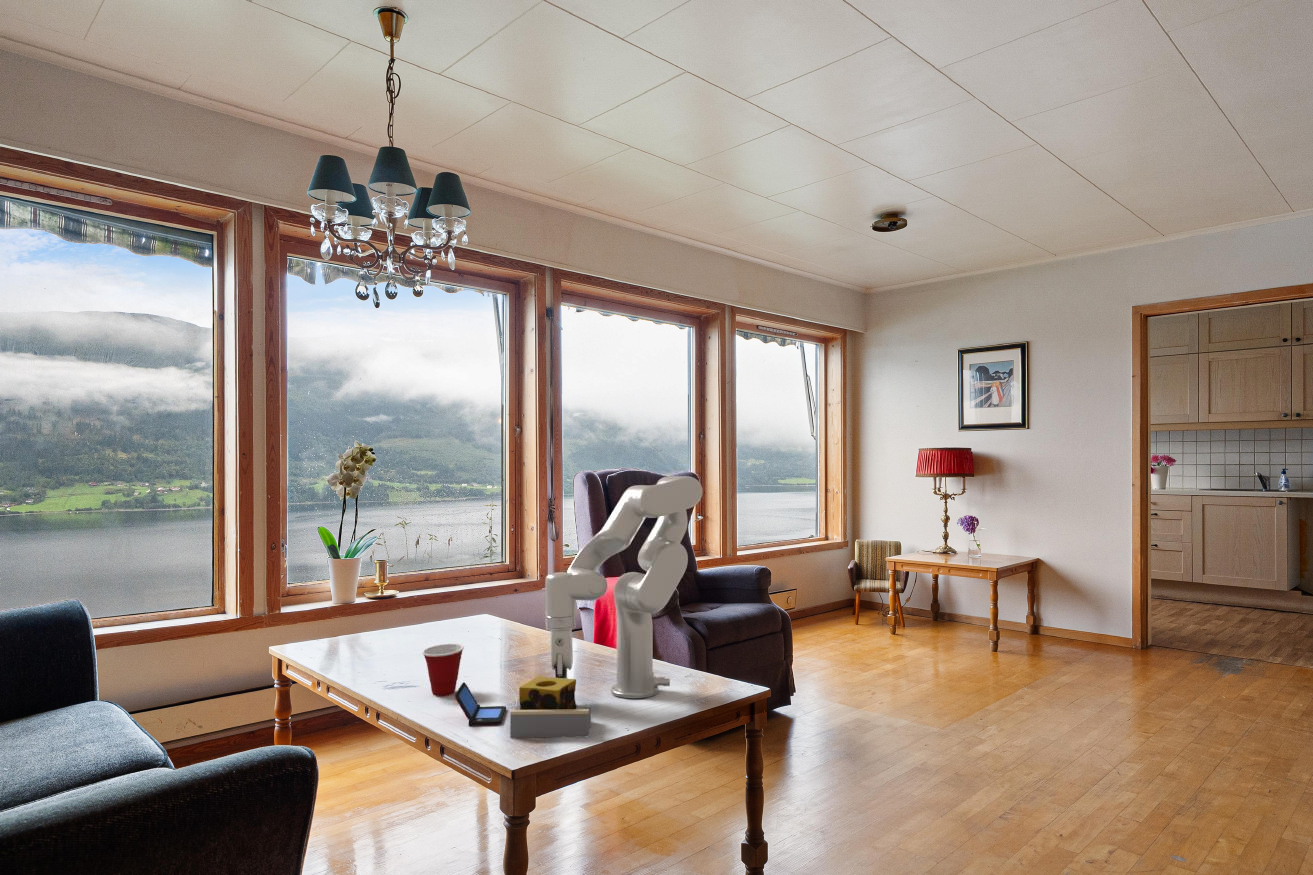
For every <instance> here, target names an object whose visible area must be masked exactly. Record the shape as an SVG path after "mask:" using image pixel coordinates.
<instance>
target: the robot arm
mask: <svg viewBox="0 0 1313 875" xmlns="http://www.w3.org/2000/svg"><path fill="white" fill-rule="evenodd" d="M656 482H657V483H655V484H652V485H645V484H644V485H643V484H639V485H638V484H637V485H632V486H630V487H628V488H627V489H626V490H625V491H624V492H623V493H622V495H621V496H620V499H619V500H618V502H617V504H616V505H615V506H614V509H613V510H612V512H611V514H610V515H609V516H608V519H607V520H606V522H605V523H604V525H603V527H601V529H600V531H598V532H597V533H596V534H595V535H594V536H593V537H592V538H591V539H590V540H589V541H588V542H587V543H586V544H585V545H584V546H583V547H582V548H581V549H580V550H579V552H578V553H577V554H576V556H575V558H574V560H572V562H571V564H570V566H569V567H568V569H567V571H566V572H565V571H563V572H562V571H560V572H559V571H558V572H552V573H549V574H547V575H546V576H545V581H544V583H545V584H544V588H545V589H544V591H545V592H544V594H545V595H544V596H545V630H547V631H549V632H550V658H551V659H550V661H551V669H552V670H553V671H554V674H555V675H554V676H555V677H554V678H566V679H569V678H568V670H569V671H570V670H571V669H572V668H573V663H574V655H573V652H574V651H573V632H572V630H574V629H576V627H577V626H576V601H587V602H588V601H596V600H597V601H598V600H599V599H601V598H603V596H605V594H606V593H607V590H608V582H607V579H606V577H605V576H604V575H603V574H602V573H600V572H598V570H599V568H600V567H601V566H602V565H603V563H605V562H606V561H607V560H608V559H609V558H611V557H613V556H614V555H616V554H618V553H620V552H622V551H624V550H626V549H627V548H629V546H631V544H632V541H633V540H634V538H635V536H636V535H637V533H638V531H639V530H640V528H641V526H642V525H643V523H644V522H645V520H646V518H650V519H651V518H657V520H656V522H655V524H654V525H653V527H652V529H651V531H650V533H649V534H648V535H647V538H646V539H645V541H644V542H643V544H642V546H641V548H640V549H639V551H638V555H637V562H638V565H639V566H640V568H641V569H642V570H643V571H645V572H646V573H641V572H636V571H631V572H627V573H626V572H625V573H623V574H621V575H620V576H619V578H618V579H617V580H616V582H615V585H614V586H613V587H614V589H613V599H614V605H615V611H616V684H614V685H613V686H611V688H610V692H611V694H612V695H613V696H615V697H617V698H623V699H644V698H645V699H646V698H649V697H650V698H651V697H653V696H655V695H657V694H658V693H659V686H661V687H662V686H663V687H670V686H671V683H670V682H671V681H670V677H669V678H668V677H667V678H665V676H664V677H663V676H660V677H657V676H655V674H654V670H653V663H654V662H653V656H654V655H653V650H654V649H653V643H654V642H653V634H654V633H653V632H654V630H653V627H654V626H653V617H652V614H656V613H659V612H660V611H662V610H663V609H664V608H665V607H666V605H668V603H669V601H670V599H671V597H672V596H673V594H674V592H675V590H676V589H677V587H678V585H679V583H681V582H680V581H681V579H682V578H683V576H684V574H685V572H686V570H687V567H688V562H689V559H688V558H689V556H688V552H687V550H686V547H685V546H684V545H682V543H681V542H682V540H683V538H684V536H685V533H686V532H687V528H688V514H687V510H689V509H691V508H694V507H695V506H696V505H698V503H699V502H700V501H701V500H702V496H703V486H702V484H701V483H700V481H699V480H698V479H696V478H695V477H693V476H688V475H686V476H685V475H684V476H681V475H668V476H664V477H661V478H660V479H659V480H657V481H656Z"/></svg>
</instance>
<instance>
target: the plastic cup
mask: <svg viewBox="0 0 1313 875" xmlns="http://www.w3.org/2000/svg"><path fill="white" fill-rule="evenodd" d="M464 647H465V646H464V645H463V644H460V643H444V644H442V643H441V644H438V645H433V646H430V647H427V648H425V649H423V650H422V651H421V654H422V655H423V657H424V659H425V663H426V667H427V673H428V678H429V683H430V689H431V690H430V691H431V693H432V695H433V696H435V697H436V696H437V697H446V696H451V695H453V694H455V691H456V687H457V681H458V678H459V671H460V665H461V661H462V655H463V651H464V649H465V648H464Z"/></svg>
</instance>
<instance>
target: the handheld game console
mask: <svg viewBox="0 0 1313 875" xmlns="http://www.w3.org/2000/svg"><path fill="white" fill-rule="evenodd" d="M454 697H455V700H456V702H457V704H458V705H459V707H460V709H461V710H462V712H463V714H464V715H465V717H466V719H467V720H468V727H483V726H484V727H485V726H489V727H490V726H500V725H501V724H502V722H503V719H504V716H505V714H506V711H507V706H505V705H501V706H500V705H495V706H491V705H490V706H481V705H480V703H479V704H478V702H477V700H476V699H475V697H474V695H473V694H472V691H471V690H470V688H469V686H468V684H466V683H465V682H462V683H461V684H460V687H459V688H458V689H457V691H456V693H454Z"/></svg>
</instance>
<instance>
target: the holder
mask: <svg viewBox="0 0 1313 875" xmlns="http://www.w3.org/2000/svg"><path fill="white" fill-rule="evenodd" d="M591 723H592V704H589V703H588V704H585V707H584V708H576V709H558V710H520V704H517V705H516V707H515V709H511V710H510V727H509V730H510V732H509V734H510V739H511V738H562V737H561V736H566V737H565V738H568V737H569V738H572V737H573V738H575V737H574V736H578V737H579V736H588V735H589V734H590V730H589V729H591ZM557 736H559V737H557ZM570 736H571V737H570ZM588 737H589V736H588Z"/></svg>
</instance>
